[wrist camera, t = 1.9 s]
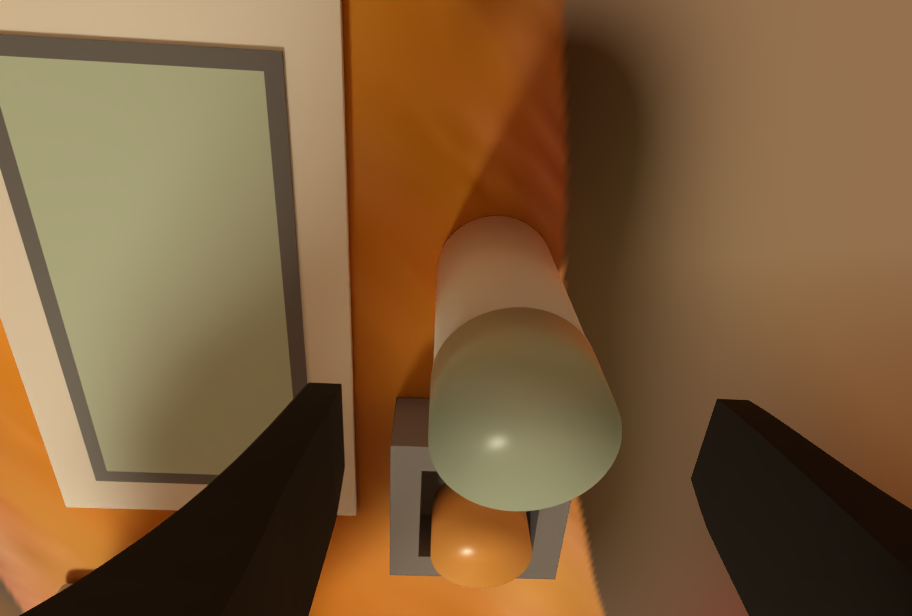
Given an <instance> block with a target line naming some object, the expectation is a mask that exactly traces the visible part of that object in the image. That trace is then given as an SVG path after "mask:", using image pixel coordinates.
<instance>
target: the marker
mask: <svg viewBox="0 0 912 616" xmlns="http://www.w3.org/2000/svg"><path fill="white" fill-rule="evenodd" d="M621 438H622V422H621V417H620V413H619V410H618V408H617V405H616V403H615V400H614V398H613V396H612V393H611V391H610V389H609V387H608V384H607V381H606V379H605V377H604V374H603V372H602V370H601V367H600V365H599V363H598V360H597V358H596V355H595V353H594V351H593V348H592V347H591V345H590V344H589V341H588V340H587V339H586V337H585V335H584V333H583V331H582V328H581V326H580V323H579V321H578V318H577V316H576V314H575V311H574V309H573V306H572V304H571V302H570V299H569V297H568V295H567V292H566V290H565V287H564V285H563V282H562V280H561V278H560V275H559V273H558V270H557V268H556V266H555V263H554V261H553V258H552V256H551V254H550V251H549V249H548V246H547V245H546V243H545V241H544V239H543V238H542V237H541V235H540V234H539V233H538V232H537V231H536V230H535V229H533V228H532V227H531V226H529V225H528V224H526V223H524V222H522V221H520V220H517V219H515V218H511V217H506V216H487V217H482V218H478V219H475V220H473V221H470V222H468V223H466V224H465V225H463V226H461V227H460V228H459V229H457V230H456V231H455V232H454V233H453V234H452V235H451V236H450V237H449V238H448V240H447V241H446V242H445V244H444V246H443V248H442V250H441V252H440V255H439V258H438V263H437V279H436V307H435V334H434V361H433V366H432V371H431V381H430V404H429V428H428V448H429V453H430V457H431V460H432V463H433V465H434V467H435V469H436V471H437V472H438V474H439V476H440V477H441V478H442V479H443V481H444V482H445V483H446V484H447V485H448V486H449V487H450V488H451V489H452V490H454V491H455V492H456V493H458V494H459V495H461V496H462V497H464V498H466V499H468V500H470V501H472V502H474V503H477V504H479V505H482V506H485V507H489V508H492V509H498V510H504V511H533V510H540V509H545V508H550V507H553V506H556V505H559V504H562V503H565V502H567V501H569V500H572V499H574V498H575V497H577V496H579V495H581V494H583V493H584V492H585V491H587V490H588V489H590V488H591V487H592V486H593V485H595V484H596V483H597V482H598V481H599V480H600V479H601V478H602V477H603V476H604V475H605V473H607V471H608V470H609V468H610V467H611V465H612V464H613V462H614V460H615V458H616V456H617V454H618V451H619V448H620V445H621Z"/></svg>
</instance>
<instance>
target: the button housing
mask: <svg viewBox="0 0 912 616" xmlns="http://www.w3.org/2000/svg"><path fill="white" fill-rule="evenodd" d="M429 404H430V399H419V398H397V399H396V407H395V415H394V423H393V431H392V438H391V453H390V575H411V576H441V575H440V574H439V573H438V572H437V571H436V569H435V568H434V566H433V564H432V561H431V525H432V502H433V498H434V495H435V494H436V492H437V490H438V489H439V488H440V487H441V486H442V485H443V484H444V483H445V482H444V481H443V479H442V478H441V477H440V476H439V474H438V472H437V471H436V469H435V467H434V465H433V463H432V460H431V457H430V453H429V448H428V428H429ZM570 503H571V500H569V501H567V502H565V503H562V504H559V505H556V506H553V507H550V508H545V509H540V510H533V511H526V514H527V521H528V527H529V534H530V540H531V547H532V557H531V561H530V563H529V565H528V567H527V568H526V570H525V571H524V572H523V573H522V574H521V575H520V576H518V577H517V578H523V579H555V577H556V572H557V567H558V562H559V557H560V552H561V548H562V543H563V538H564V533H565V528H566V523H567V518H568V513H569V508H570Z"/></svg>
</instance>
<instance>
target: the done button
mask: <svg viewBox="0 0 912 616" xmlns="http://www.w3.org/2000/svg"><path fill="white" fill-rule="evenodd" d="M531 557H532V547H531V540H530V534H529V527H528V521H527V514H526V511H504V510H498V509H492V508H489V507H485V506H482V505H479V504H477V503H474V502H472V501H470V500H468V499H466V498H464V497H462V496H461V495H459V494H458V493H456V492H455V491H454V490H452V489H451V488H450V487H449V486H448V485H447V484H446V483H444V484H443V485H442V486H441V487H440V488H439V489H438V490H437V492H436V494H435V495H434V498H433V502H432V525H431V561H432V564H433V566H434V568H435V569H436V571H437V572H438V573H439V574H440V575H441V576H442V577H443V578H445V579H446V580H448V581H450V582H452V583H454V584H456V585H459V586H463V587H468V588H491V587H497V586H500V585H503V584H506V583H508V582H510V581H512V580H514V579H515V578H517V577H518V576H520V575H521V574H522V573H523V572H524V571H525V570H526V568H527V567H528V565H529V563H530V561H531Z"/></svg>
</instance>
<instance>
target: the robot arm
mask: <svg viewBox="0 0 912 616" xmlns="http://www.w3.org/2000/svg"><path fill="white" fill-rule="evenodd" d="M344 469H345V455H344V431H343V408H342V384H335V383H310V382H309V383H308V384H307V385H305V386H304V387H303V388H302V389H301V391H300V392H299V393H298V394H297V395H296V396H295V397H294V398H293V400H292V401H291V402H290V403H289V404H288V405H287V406H286V408H285V409H284V410H283V411H282V412H281V413H280V414H279V415H278V416H277V417H276V419H275V420H274V421H273V422H272V423H271V424H270V425H269V426H268V427H267V428H266V429H265V430H264V431H263V432H262V433H261V434H260V435H259V436H258V437H257V438H256V439H255V440H254V442H253V443H252V444H251V445H250V446H249V447H248V448H247V449H246V450H245V451H244V452H243V453H242V454H241V455H240V456H239V457H238V458H237V459H236V460H234V461H233V462H232V463H231V464H230V465H229V466H228V467H227V468H226V469H225V470H224V471H223V472H221V473H220V474H219V475H218V476H217V477H216V478H215V479H214V480H213V481H212V482H211V483H209V484H208V485H207V486H206V487H205V488H204V489H203V490H202V491H201V492H199V493H198V494H197V495H196V496H195V497H193V498H192V499H191V500H190V501H189V502H188V503H186V504H185V505H184V506H183V507H181V508H180V509H179V510H178V511H177V512H175V513H174V514H173V515H171V516H170V517H169V518H168V519H166V520H165V521H164V522H162V523H161V524H160V525H159V526H157V527H156V528H155V529H153V530H152V531H151V532H149V533H148V534H147V535H145V536H144V537H142V538H141V539H140V540H138V541H137V542H135V543H134V544H132V545H131V546H129V547H128V548H126V549H125V550H124V551H122V552H121V553H119V554H118V555H116V556H115V557H113V558H112V559H110V560H109V561H107V562H106V563H104V564H103V565H101V566H100V567H99V568H97V569H96V570H94V571H93V572H91V573H90V574H88V575H87V576H85V577H83V578H82V579H80V580H79V581H77V582H75V583H74V584H65V585H63V586H62V587H61V588H60V590H59V591H58V593H57V594H56V595H54V596H53V597H51V598H49V599H47V600H46V601H44V602H42V603H41V604H39V605H37V606H35V607H34V608H32V609H30V610H29V611H27V612H25V613H23V614H22V615H20V616H308V615H309V612H310V608H311V605H312V601H313V598H314V594H315V591H316V587H317V584H318V580H319V577H320V574H321V570H322V567H323V563H324V560H325V556H326V553H327V549H328V546H329V542H330V539H331V535H332V532H333V528H334V524H335V521H336V517H337V512H338V506H339V501H340V495H341V488H342V482H343V476H344ZM691 481H692V484H693V487H694V490H695V494H696V496H697V500H698V503H699V506H700V509H701V512H702V515H703V518H704V521H705V524H706V527H707V529H708V531H709V533H710V536H711V538H712V540H713V542H714V544H715V546H716V548H717V551H718V553H719V554H720V557H721V559H722V561H723V563H724V565H725V567H726V569H727V571H728V573H729V575H730V578H731V580H732V581H733V584H734V585H735V587H736V590H737V592H738V594H739V596H740V598H741V600H742V602H743V604H744V606H745V608H746V610H747V612H748V614H749V616H912V510H911V509H910V508H908V507H907V506H905V505H903V504H902V503H900V502H899V501H897V500H896V499H894V498H892V497H891V496H889V495H888V494H886V493H885V492H883V491H881V490H880V489H878V488H877V487H875V486H874V485H872V484H871V483H869V482H868V481H866V480H865V479H863V478H862V477H860V476H859V475H857V474H856V473H855V472H853V471H852V470H850V469H849V468H847V467H846V466H844V465H843V464H841V463H840V462H839V461H837V460H836V459H834V458H833V457H831V456H830V455H828V454H827V453H826V452H824V451H823V450H821V449H820V448H818V447H817V446H816V445H814V444H813V443H811V442H810V441H808V440H807V439H806V438H804V437H803V436H801V435H800V434H799V433H797V432H796V431H794V430H793V429H791V428H790V427H789V426H787V425H786V424H784V423H783V422H781V421H780V420H778V419H777V418H775V417H774V416H772V415H771V414H770V413H768V412H767V411H765V410H763V409H762V408H760V407H759V406H757V405H755V404H754V403H752V402H750V401H749V400H729V399H717V401H716V404H715V407H714V410H713V413H712V416H711V419H710V422H709V425H708V428H707V431H706V435H705V437H704V441H703V443H702V446H701V450H700V453H699V456H698V459H697V462H696V465H695V468H694V471H693V474H692V477H691Z"/></svg>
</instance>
